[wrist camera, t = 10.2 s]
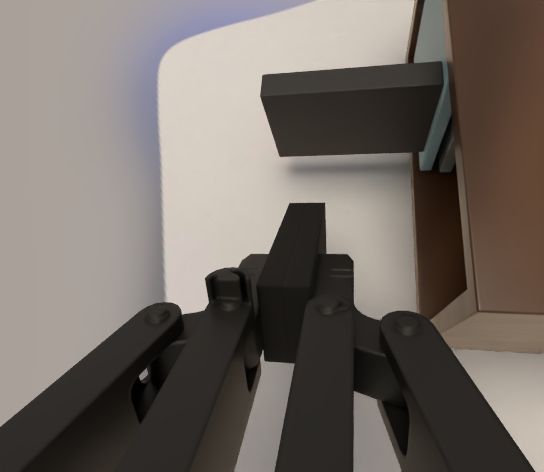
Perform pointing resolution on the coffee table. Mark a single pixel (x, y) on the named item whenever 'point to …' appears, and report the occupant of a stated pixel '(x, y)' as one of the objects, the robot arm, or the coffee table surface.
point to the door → (366, 103)
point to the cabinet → (485, 181)
